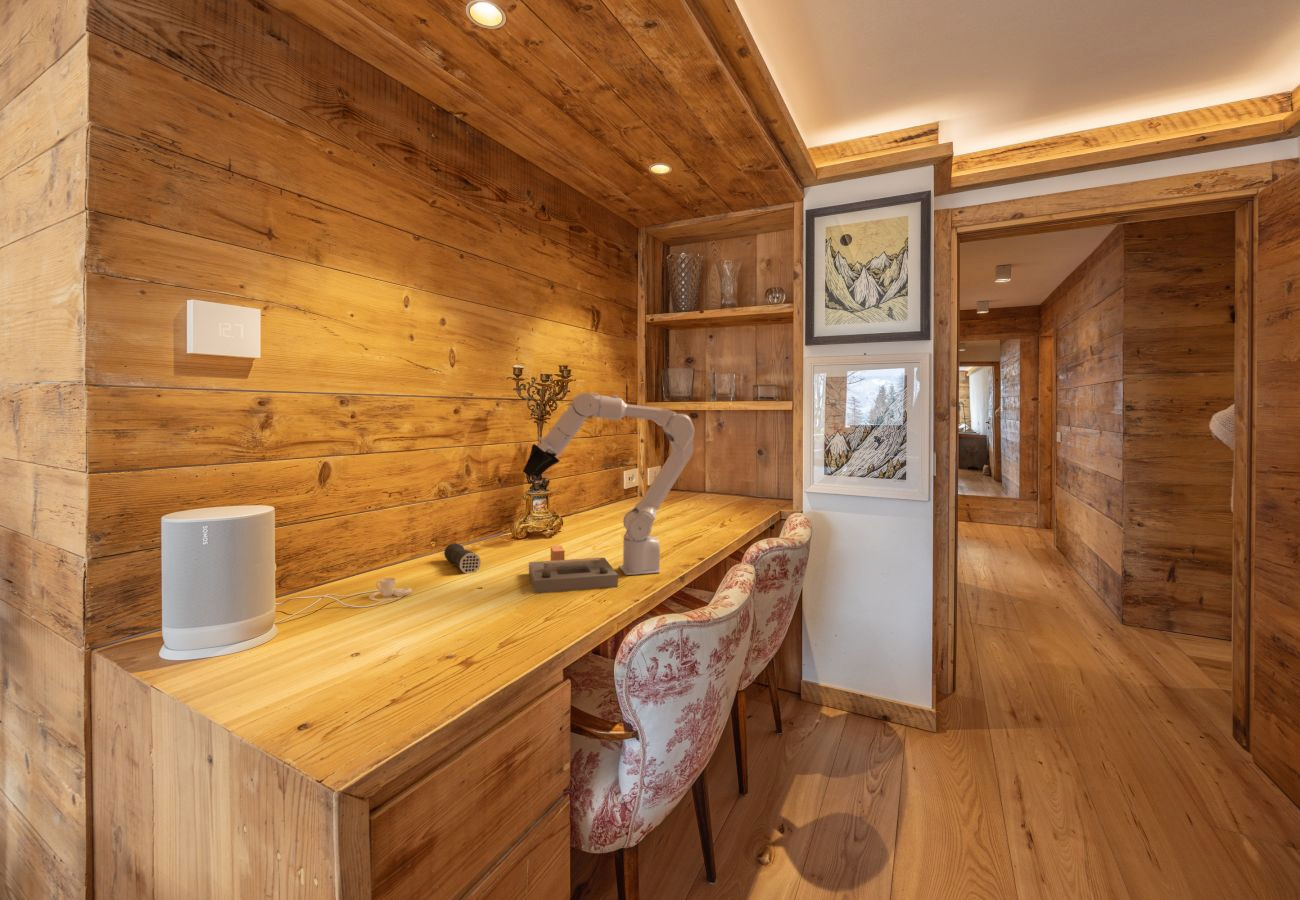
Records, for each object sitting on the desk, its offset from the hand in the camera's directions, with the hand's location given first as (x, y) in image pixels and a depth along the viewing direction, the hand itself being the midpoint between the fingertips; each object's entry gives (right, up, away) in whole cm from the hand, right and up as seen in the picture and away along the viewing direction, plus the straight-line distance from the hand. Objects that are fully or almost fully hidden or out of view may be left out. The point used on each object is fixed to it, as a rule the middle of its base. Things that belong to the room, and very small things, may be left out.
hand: (530, 474), depth 145 cm
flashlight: (-20, -26, +9) cm, 34 cm away
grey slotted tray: (+11, -27, -2) cm, 29 cm away
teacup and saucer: (-28, -28, -17) cm, 43 cm away
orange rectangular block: (+5, -26, +10) cm, 28 cm away
